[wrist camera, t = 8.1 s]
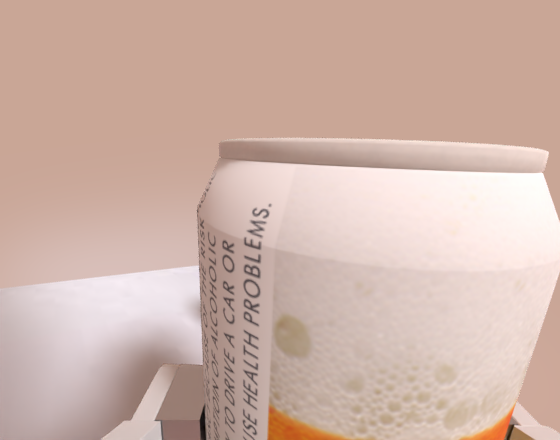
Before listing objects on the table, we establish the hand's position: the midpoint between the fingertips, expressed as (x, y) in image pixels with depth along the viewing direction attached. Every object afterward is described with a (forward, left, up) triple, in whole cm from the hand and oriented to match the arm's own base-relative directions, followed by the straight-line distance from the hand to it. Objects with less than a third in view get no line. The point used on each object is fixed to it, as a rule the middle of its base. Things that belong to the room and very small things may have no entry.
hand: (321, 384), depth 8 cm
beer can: (-1, 0, -9) cm, 9 cm away
